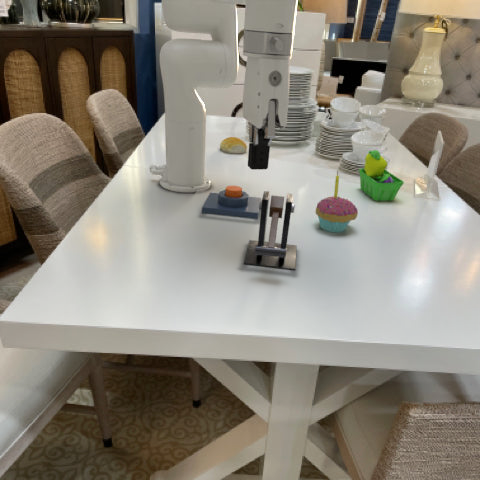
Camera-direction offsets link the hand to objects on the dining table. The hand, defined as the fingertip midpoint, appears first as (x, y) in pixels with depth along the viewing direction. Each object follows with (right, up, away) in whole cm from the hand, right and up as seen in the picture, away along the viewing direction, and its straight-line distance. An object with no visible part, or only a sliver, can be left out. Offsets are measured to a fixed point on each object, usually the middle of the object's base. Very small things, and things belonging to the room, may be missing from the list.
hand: (257, 167), depth 82 cm
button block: (-5, -2, +23) cm, 24 cm away
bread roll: (-5, +28, +69) cm, 74 cm away
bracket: (+3, -15, +4) cm, 16 cm away
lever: (+3, -12, -3) cm, 12 cm away
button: (-4, +1, +21) cm, 22 cm away
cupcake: (+16, -8, +18) cm, 25 cm away
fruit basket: (+32, +6, +40) cm, 52 cm away
